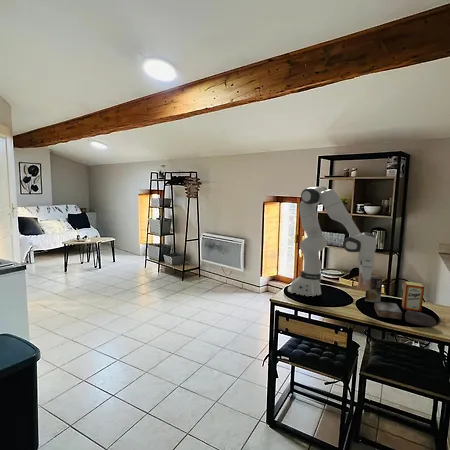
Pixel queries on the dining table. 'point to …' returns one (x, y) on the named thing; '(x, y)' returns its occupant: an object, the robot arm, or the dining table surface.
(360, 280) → the terracotta block
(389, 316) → the block
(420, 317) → the perforated stone tool
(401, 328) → the dining table surface
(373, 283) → the coffee box
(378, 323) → the dining table surface
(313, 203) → the robot arm
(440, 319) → the dining table surface
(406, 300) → the ginger box
